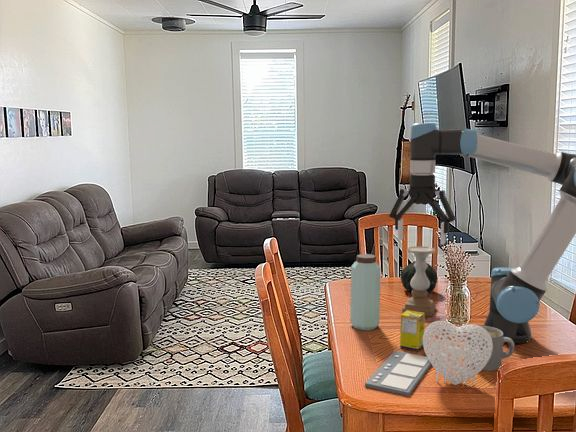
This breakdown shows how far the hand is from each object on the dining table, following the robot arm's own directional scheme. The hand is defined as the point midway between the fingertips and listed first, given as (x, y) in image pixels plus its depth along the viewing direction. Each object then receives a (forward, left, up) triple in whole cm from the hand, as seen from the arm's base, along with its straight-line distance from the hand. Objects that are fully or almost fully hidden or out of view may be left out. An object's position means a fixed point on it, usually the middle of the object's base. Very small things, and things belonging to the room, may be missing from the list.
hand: (421, 242), depth 183 cm
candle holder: (+9, -33, -33) cm, 48 cm away
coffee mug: (-23, +7, -33) cm, 41 cm away
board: (-2, +25, -33) cm, 41 cm away
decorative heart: (-17, +25, -33) cm, 45 cm away
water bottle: (+21, -7, -33) cm, 40 cm away
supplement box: (+1, +4, -33) cm, 34 cm away
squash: (+16, -58, -33) cm, 69 cm away
